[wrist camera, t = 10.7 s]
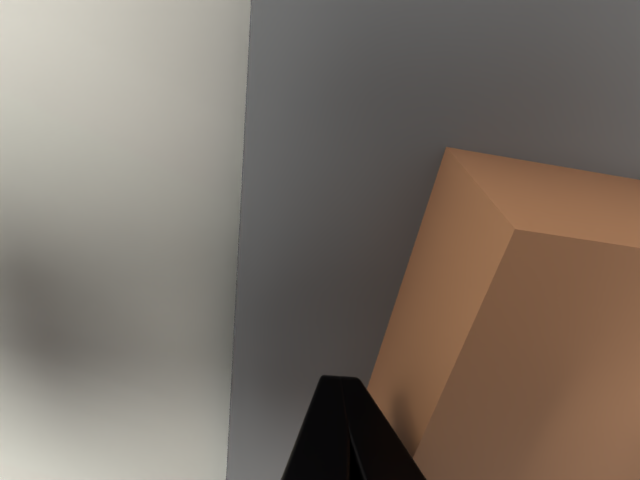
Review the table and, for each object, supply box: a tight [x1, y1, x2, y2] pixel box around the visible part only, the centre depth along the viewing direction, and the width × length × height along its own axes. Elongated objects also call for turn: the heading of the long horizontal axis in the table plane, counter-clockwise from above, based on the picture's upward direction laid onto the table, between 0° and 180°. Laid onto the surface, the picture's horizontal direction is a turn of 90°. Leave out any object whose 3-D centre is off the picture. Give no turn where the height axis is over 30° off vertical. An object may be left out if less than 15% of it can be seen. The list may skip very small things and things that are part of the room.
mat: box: [226, 0, 640, 480], centre depth 12 cm, size 21×18×1 cm
